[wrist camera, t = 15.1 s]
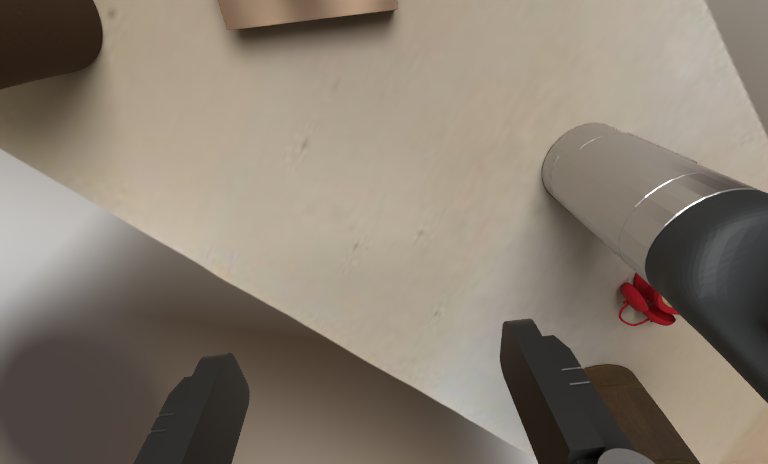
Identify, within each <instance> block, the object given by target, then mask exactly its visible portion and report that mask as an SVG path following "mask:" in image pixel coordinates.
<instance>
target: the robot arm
mask: <svg viewBox="0 0 768 464" xmlns="http://www.w3.org/2000/svg"><path fill="white" fill-rule="evenodd" d="M542 178H543V182H544V185H545V187H546V189H547V191H548V192H549V193H550V194H551V195H552V196H553V197H555V198H556V199H557V200H558V201H559V202H560V203H561V204H562V205H563V206H564V207H565V208H566V209H567V210H568V211H570V212H571V213H572V214H573V215H574V216H575V217H576V218H577V219H578V220H579V221H580V222H582V223H583V224H584V225H585V226H586V227H587V228H588V229H589V230H590V231H591V232H592V233H594V234H595V235H596V236H597V237H598V238H599V239H600V240H601V241H602V242H603V243H604V244H606V245H607V246H608V247H609V248H610V249H611V250H612V251H613V252H614V253H615V254H616V255H617V256H619V257H620V258H621V259H622V260H623V261H624V262H625V263H626V264H627V265H629V266H630V267H631V268H632V269H633V270H634V271H635V272H636V273H637V274H638V275H639V276H641V277H642V278H643V279H644V280H645V281H646V282H647V283H648V284H649V285H650V286H652V287H653V288H654V289H655V290H656V291H657V292H658V293H659V294H660V295H661V296H663V297H664V298H665V299H666V300H667V302H668V303H669V304H670V305H671V306H672V307H673V308H674V309H675V310H676V311H677V312H678V313H679V314H680V315H681V316H682V317H683V318H684V319H685V320H686V321H687V322H688V323H689V324H690V325H691V326H692V327H693V328H694V329H696V330H697V331H698V332H699V333H700V334H701V335H702V336H703V337H704V338H705V339H706V340H707V341H708V342H709V343H710V344H711V345H712V346H713V347H714V348H715V349H716V350H717V351H718V352H719V353H720V354H721V355H722V356H723V357H724V358H725V359H726V360H727V361H728V362H729V363H730V364H731V365H732V367H733V368H734V369H735V370H736V371H737V372H738V373H739V374H740V375H741V376H742V377H743V378H744V379H745V380H746V381H747V382H748V383H749V384H750V385H751V386H752V387H753V388H754V389H755V390H756V392H757V393H758V394H759V395H760V396H761V397H762V398H763V399H764V400H765V401H766V402H767V403H768V193H765V192H762V191H760V190H758V189H756V188H753V187H751V186H749V185H746V184H744V183H742V182H739V181H737V180H735V179H732V178H730V177H728V176H725V175H723V174H720V173H718V172H715V171H713V170H711V169H708V168H706V167H704V166H701V165H699V164H698V163H697V162H696V161H694V160H692V159H690V158H687V157H685V156H682V155H680V154H678V153H675V152H673V151H671V150H668V149H666V148H663V147H661V146H659V145H656V144H654V143H652V142H649V141H647V140H645V139H642V138H640V137H637V136H635V135H633V134H630V133H625V132H622V131H620V130H617V129H615V128H613V127H610V126H608V125H605V124H599V123H593V124H586V125H582V126H579V127H577V128H575V129H573V130H571V131H569V132H567V133H566V134H565V135H563V136H562V137H561V138H560V139H559V140H558V141H557V142H556V143H555V144H554V145H553V147H552V148H551V149H550V151H549V152H548V154H547V156H546V159H545V161H544V165H543V169H542ZM500 363H501V369H502V373H503V376H504V379H505V381H506V384H507V386H508V389H509V391H510V394H511V396H512V399H513V401H514V404H515V406H516V409H517V411H518V414H519V416H520V419H521V421H522V424H523V426H524V429H525V431H526V434H527V436H528V439H529V441H530V444H531V446H532V449H533V451H534V454H535V456H536V459H537V461H538V464H655V463H654V462H653V461H651V460H650V459H648V458H647V457H645V456H643V455H641V454H640V453H639V452H637V451H636V449H635V448H634V447H633V446H632V445H631V443H630V442H629V441H628V439H627V438H626V436H625V435H624V433H623V431H622V430H621V428H620V427H619V425H618V424H617V422H616V420H615V419H614V417H613V416H612V414H611V413H610V411H609V409H608V408H607V406H606V405H605V403H604V402H603V400H602V398H601V397H600V395H599V394H598V392H597V391H596V389H595V387H594V386H593V384H591V383H590V380H589V378H588V376H587V375H586V373H585V372H584V370H583V369H581V365H580V364H579V362H578V361H577V359H576V358H575V356H574V354H573V353H572V351H571V350H570V348H568V347H567V346H566V345H565V344H563V343H562V342H561V341H560V340H559V339H557V338H556V337H555V336H554V335H551V336H542V335H541V333H540V331H539V330H538V328H537V326H536V324H535V323H534V321H533V320H532V319H522V320H514V321H505V322H504V323H503V329H502V339H501V350H500ZM248 404H249V387H248V384H247V382H246V379H245V377H244V375H243V374H242V371H241V369H240V367H239V365H238V363H237V361H236V359H235V357H234V355H233V354H232V353H225V354H216V355H207V356H204V357H202V358H201V360H200V361H199V363H198V365H197V367H196V369H195V371H194V373H193V375H192V377H184V379H183V380H182V381H181V382H180V383H179V384H178V385H177V386H176V387H175V388H174V390H173V391H172V392H171V393H170V394H169V396H168V398H167V400H166V401H165V403H164V406H163V407H162V409H161V411H160V413H159V418H157V419H156V421H155V423H154V425H153V427H152V429H151V434H149V435H148V437H147V439H146V441H145V442H144V444H143V447H142V449H141V450H140V452H139V454H138V456H137V458H136V460H135V462H134V464H231V463H232V460H233V456H234V453H235V449H236V446H237V442H238V439H239V436H240V432H241V429H242V425H243V422H244V418H245V415H246V411H247V408H248Z"/></svg>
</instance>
